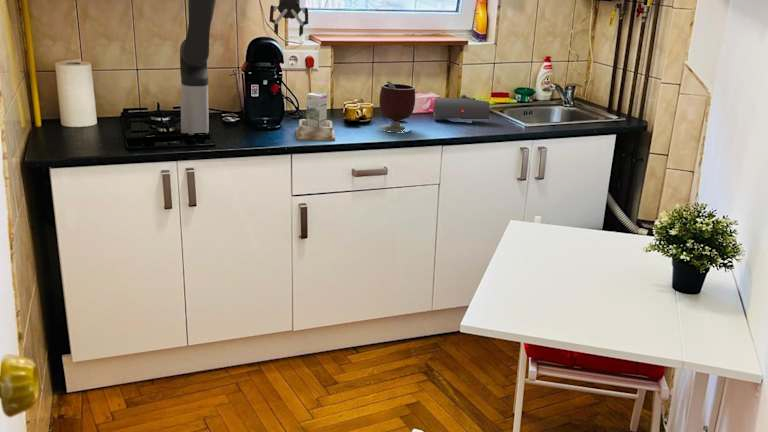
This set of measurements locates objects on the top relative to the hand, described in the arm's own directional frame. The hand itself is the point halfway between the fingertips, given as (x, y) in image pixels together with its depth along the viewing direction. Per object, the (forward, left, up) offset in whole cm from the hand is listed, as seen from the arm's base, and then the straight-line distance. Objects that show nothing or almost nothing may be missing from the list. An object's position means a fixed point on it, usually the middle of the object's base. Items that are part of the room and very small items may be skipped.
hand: (288, 35), depth 286 cm
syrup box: (+11, -15, -33) cm, 38 cm away
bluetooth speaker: (+73, +21, -34) cm, 83 cm away
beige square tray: (+11, -15, -34) cm, 39 cm away
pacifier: (+45, +18, -34) cm, 60 cm away
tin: (+28, +16, -34) cm, 47 cm away
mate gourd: (+42, 0, -34) cm, 54 cm away
